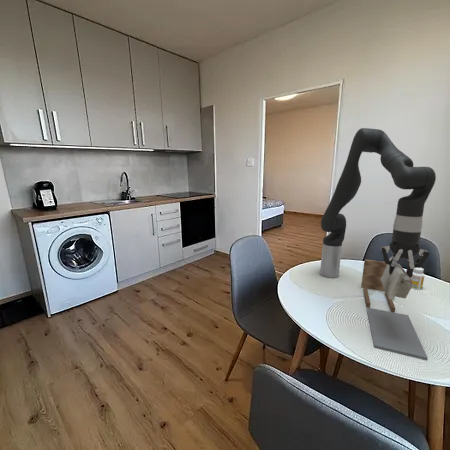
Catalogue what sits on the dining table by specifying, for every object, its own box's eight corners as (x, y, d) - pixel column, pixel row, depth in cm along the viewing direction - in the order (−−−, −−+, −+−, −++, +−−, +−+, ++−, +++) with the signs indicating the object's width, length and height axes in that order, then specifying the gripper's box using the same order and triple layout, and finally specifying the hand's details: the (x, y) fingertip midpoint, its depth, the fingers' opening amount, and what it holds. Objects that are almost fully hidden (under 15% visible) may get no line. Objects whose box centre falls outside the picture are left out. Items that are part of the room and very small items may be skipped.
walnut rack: (365, 307, 104) (369, 276, 100) (361, 286, 121) (364, 259, 118) (396, 313, 99) (401, 281, 96) (387, 290, 117) (392, 262, 114)
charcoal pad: (373, 347, 81) (374, 345, 81) (366, 309, 103) (366, 307, 102) (427, 360, 76) (427, 357, 76) (407, 316, 97) (408, 315, 97)
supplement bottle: (417, 284, 123) (420, 266, 120) (424, 290, 117) (428, 270, 115) (405, 284, 123) (408, 265, 121) (412, 289, 118) (415, 270, 116)
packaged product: (404, 305, 80) (418, 278, 77) (387, 299, 82) (400, 272, 79) (393, 284, 96) (404, 261, 93) (379, 279, 98) (389, 256, 95)
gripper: (383, 229, 82) (377, 278, 86) (437, 233, 77) (428, 284, 81) (380, 224, 89) (374, 269, 93) (429, 227, 84) (421, 275, 87)
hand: (399, 276), depth 87 cm, fingers closed on packaged product, 4 cm apart
